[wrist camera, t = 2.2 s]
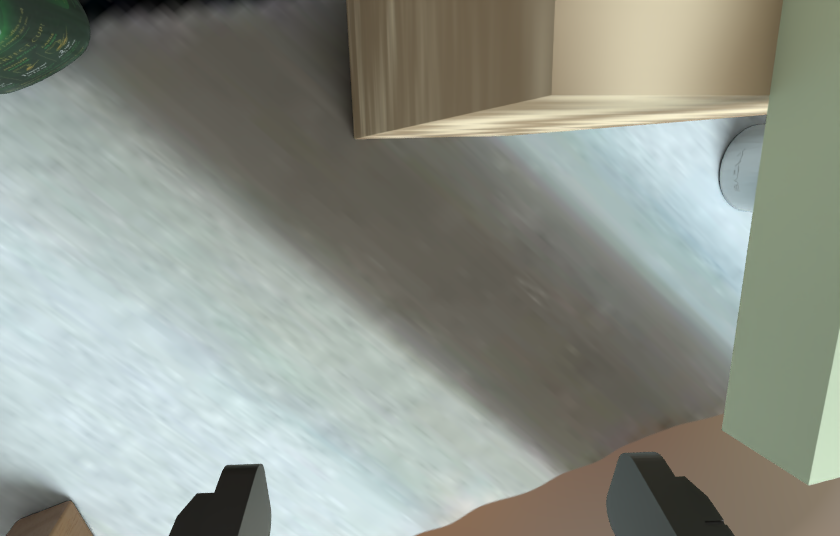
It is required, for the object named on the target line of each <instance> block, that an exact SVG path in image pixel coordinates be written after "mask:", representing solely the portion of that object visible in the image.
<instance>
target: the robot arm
mask: <svg viewBox="0 0 840 536" xmlns="http://www.w3.org/2000/svg"><path fill="white" fill-rule="evenodd" d="M764 131H765V124H760V125H755V126H751V127H749V128H747V129H745V130H743V131H742V132H741V133H740V134H738V135H737V136H736V137H735V138H734V140H733V141H732V142H731V143H730V145H729V147H728V148H727V150H726V152H725V155H724V157H723V160H722V164H721V169H720V185H721V190H722V193H723V196H724V197H725V199H726V200H727V202H728V203H729V204H730V205H731V206H732V207H734V208H736V209H738V210H741V211H746V212H753V208H754V201H755V194H756V187H757V180H758V173H759V166H760V159H761V152H762V145H763V138H764ZM606 505H607V514H608V518H609V522H610V525H611V527H612V530H613V531H614V534H615V536H734V534H733V533H732V531H731V530H730V529H729V527H728V526H727V525H725V524H724V520H723V518H722V517H721V516H720V514H719V513H718V511H717V510H716V508H715V507H714V505H713V504H712V502H711V501H710V500H709V498H708V497H707V496H706V495H705V494H704V493H703V492H702V491H700V490H699V489H698V488H697V487H696V486H695V485H694V484H693V483H691V482H690V481H689V480H688V479H687V478H686V477H685V476H683V477H675V476H674V474H673V472H672V471H671V469H670V468H669V466H668V465H667V463H666V461H665V460H664V459H663V457H662V456H661V455H660V454H658V453H656V452H640V453H623V454H621V455H620V456H619V459H618V462H617V465H616V469H615V472H614V475H613V479H612V482H611V485H610V488H609V491H608V495H607V500H606ZM270 529H271V507H270V501H269V495H268V489H267V483H266V477H265V471H264V467H263V465H262V464H244V465H226V466H225V467H224V469H223V471H222V473H221V476H220V478H219V481H218V484H217V487H216V489H215V492H214V493H197V494H196V495H195V496H194V497H193V499H192V500H191V501H190V502H189V503H188V504H187V506H186V507H185V508H184V509H183V510H182V511H181V513H180V514H179V515H178V516H177V518H176V520H175V523H174V525H173V527H172V530H171V532H170V534H169V536H270Z"/></svg>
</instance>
